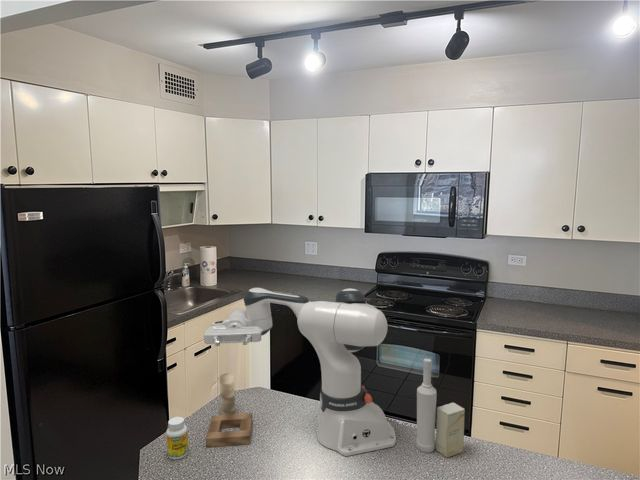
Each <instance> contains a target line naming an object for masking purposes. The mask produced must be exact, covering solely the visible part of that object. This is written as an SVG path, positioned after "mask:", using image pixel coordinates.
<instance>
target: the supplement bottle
mask: <svg viewBox="0 0 640 480" xmlns="http://www.w3.org/2000/svg"><path fill="white" fill-rule="evenodd" d="M167 424H168V425H167V429H166V431H165V432H166V434H165V435H166V447H167V457H168V458H169V459H171V460H180V459H182V458H184V457H186V456H187V455H188V453H189V452H190V451H189V435H188V434H189V433H188V427H187V425H186V424H185V418H184V417H182V416H174V417H172V418H170V419H169V420H168V422H167Z"/></svg>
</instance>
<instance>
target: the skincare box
mask: <svg viewBox="0 0 640 480" xmlns="http://www.w3.org/2000/svg"><path fill="white" fill-rule="evenodd" d="M465 413H466V411H465V408H464V407H462V406H460V405H459V404H457V403H455V402H450V403H446V404H444V405H440V406H438V407H437V406H436V423H435V450H436V451H438V452H439V453H440V454H441V455H442V456H444V457H445V458H449V457H453V456H455V455H458V454H460V453H462V452H464V443H465V442H464V439H465V436H464V435H465Z"/></svg>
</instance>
